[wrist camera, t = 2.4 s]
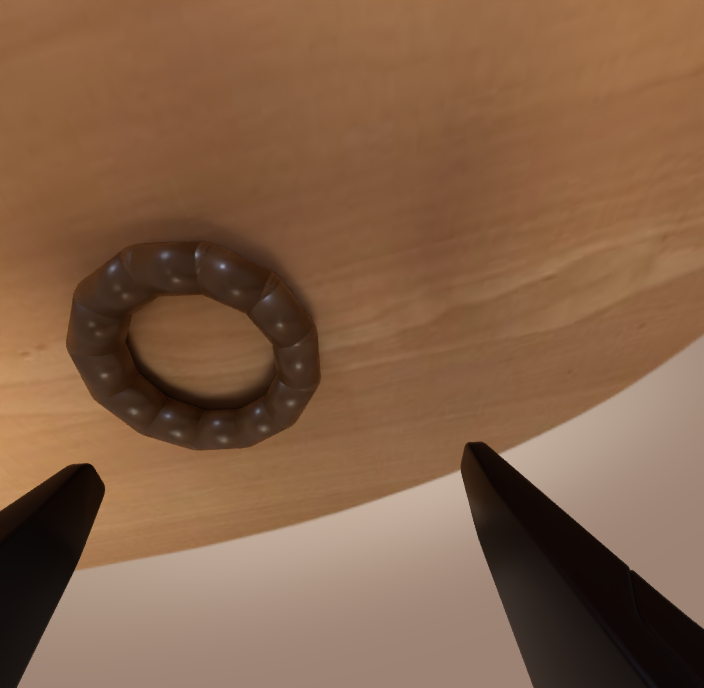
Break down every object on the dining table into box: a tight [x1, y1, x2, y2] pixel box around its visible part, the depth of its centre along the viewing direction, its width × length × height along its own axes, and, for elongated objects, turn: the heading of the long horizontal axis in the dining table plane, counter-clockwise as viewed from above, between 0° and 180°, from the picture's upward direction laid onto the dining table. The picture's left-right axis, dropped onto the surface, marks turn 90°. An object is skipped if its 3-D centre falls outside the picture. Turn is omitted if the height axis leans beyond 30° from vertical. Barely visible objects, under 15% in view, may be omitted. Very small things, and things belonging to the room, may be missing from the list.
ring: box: [66, 242, 321, 450], centre depth 12 cm, size 8×8×2 cm
